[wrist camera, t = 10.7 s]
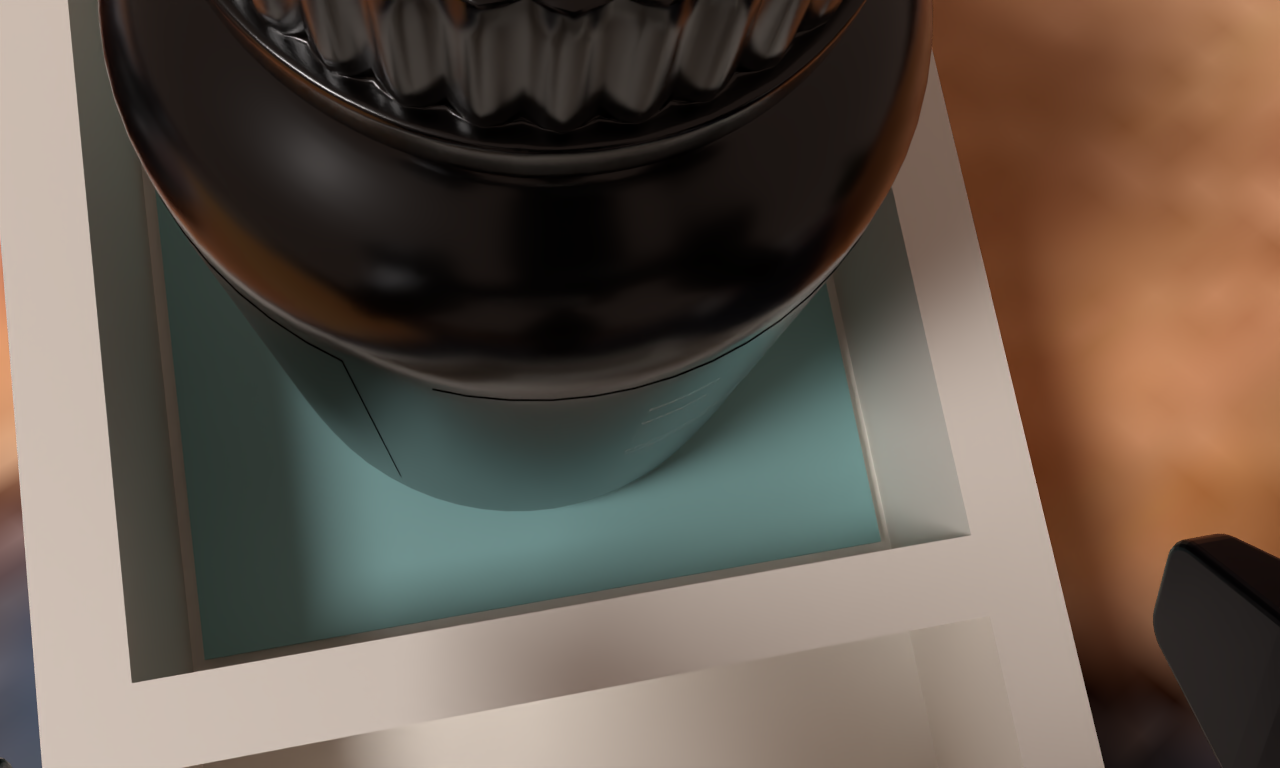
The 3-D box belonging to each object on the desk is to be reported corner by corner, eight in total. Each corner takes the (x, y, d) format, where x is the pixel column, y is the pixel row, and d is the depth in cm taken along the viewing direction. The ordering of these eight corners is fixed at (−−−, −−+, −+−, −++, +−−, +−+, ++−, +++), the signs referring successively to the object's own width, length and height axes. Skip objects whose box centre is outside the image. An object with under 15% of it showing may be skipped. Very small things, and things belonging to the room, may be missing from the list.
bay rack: (1129, 1414, 17) (1337, 1661, 13) (228, 1689, 15) (130, 2084, 11) (795, -90, 21) (870, -267, 17) (66, -25, 19) (-46, -208, 15)
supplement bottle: (685, 45, 19) (1002, -902, 8) (788, 465, 18) (1363, 111, 6) (237, 108, 18) (-205, -894, 6) (314, 564, 17) (-65, 350, 5)
